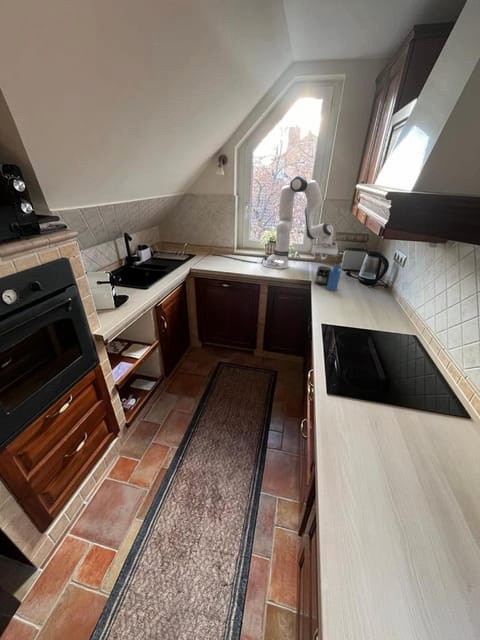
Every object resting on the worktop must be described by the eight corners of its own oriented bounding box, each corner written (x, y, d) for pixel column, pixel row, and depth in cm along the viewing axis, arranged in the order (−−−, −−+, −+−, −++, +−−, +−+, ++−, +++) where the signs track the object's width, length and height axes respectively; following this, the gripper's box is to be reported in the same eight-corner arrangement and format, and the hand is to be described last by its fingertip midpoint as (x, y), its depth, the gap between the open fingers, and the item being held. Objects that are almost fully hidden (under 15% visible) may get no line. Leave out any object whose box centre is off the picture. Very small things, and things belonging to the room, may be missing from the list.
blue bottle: (326, 290, 182) (331, 265, 173) (326, 286, 187) (331, 263, 178) (336, 291, 180) (342, 267, 171) (336, 288, 186) (341, 264, 177)
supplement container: (327, 281, 197) (330, 266, 191) (329, 286, 188) (333, 270, 182) (313, 280, 198) (316, 265, 192) (315, 285, 189) (318, 270, 183)
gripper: (313, 241, 205) (310, 256, 202) (339, 243, 201) (336, 259, 197) (312, 245, 211) (309, 260, 208) (338, 248, 206) (335, 263, 203)
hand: (323, 259), depth 203 cm, fingers closed
